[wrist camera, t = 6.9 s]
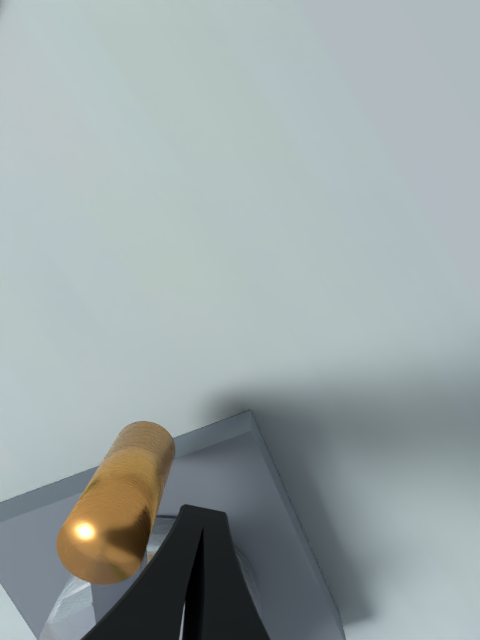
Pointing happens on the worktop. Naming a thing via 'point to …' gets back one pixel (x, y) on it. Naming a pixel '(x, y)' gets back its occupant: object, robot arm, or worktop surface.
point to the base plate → (181, 488)
